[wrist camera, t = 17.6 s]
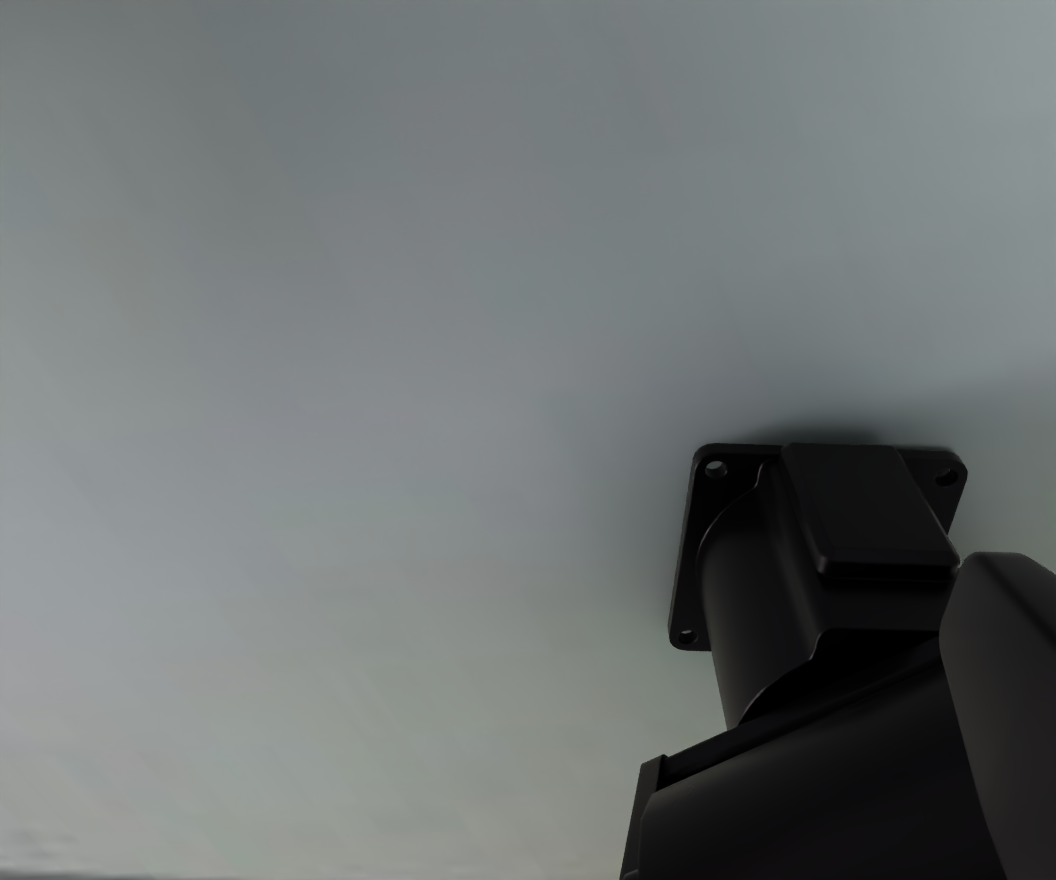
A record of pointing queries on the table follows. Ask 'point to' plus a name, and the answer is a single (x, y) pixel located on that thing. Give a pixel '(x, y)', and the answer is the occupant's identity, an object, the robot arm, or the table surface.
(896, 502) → the robot arm
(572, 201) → the table surface
